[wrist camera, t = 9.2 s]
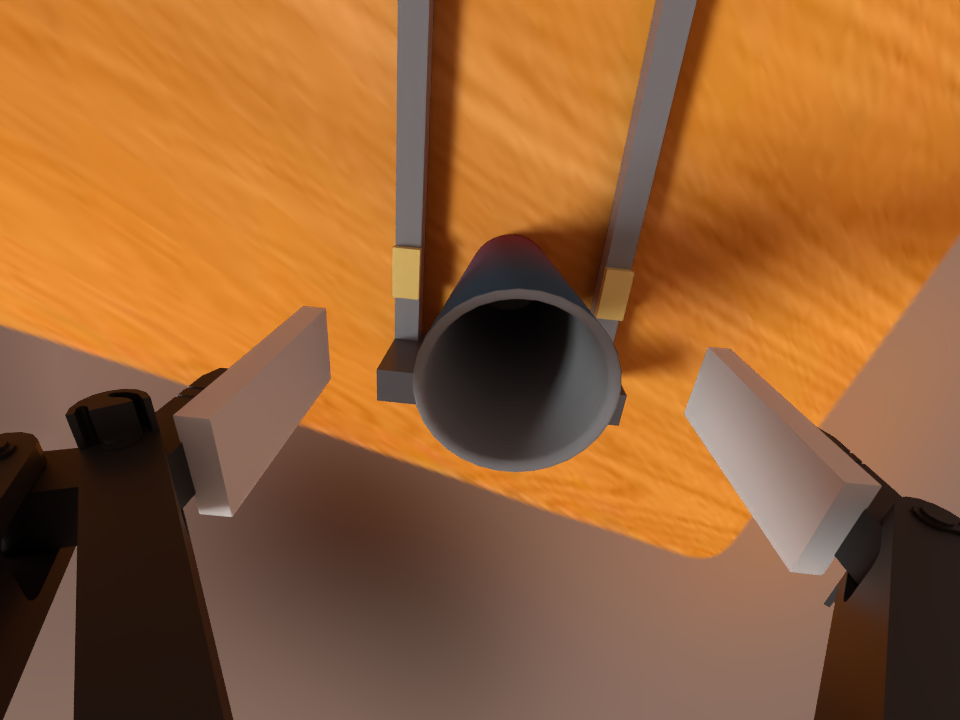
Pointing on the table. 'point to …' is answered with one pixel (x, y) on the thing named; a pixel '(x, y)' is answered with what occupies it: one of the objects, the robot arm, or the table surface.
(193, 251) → the table surface
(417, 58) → the grey u-shaped fork
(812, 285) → the table surface
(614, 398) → the cup
